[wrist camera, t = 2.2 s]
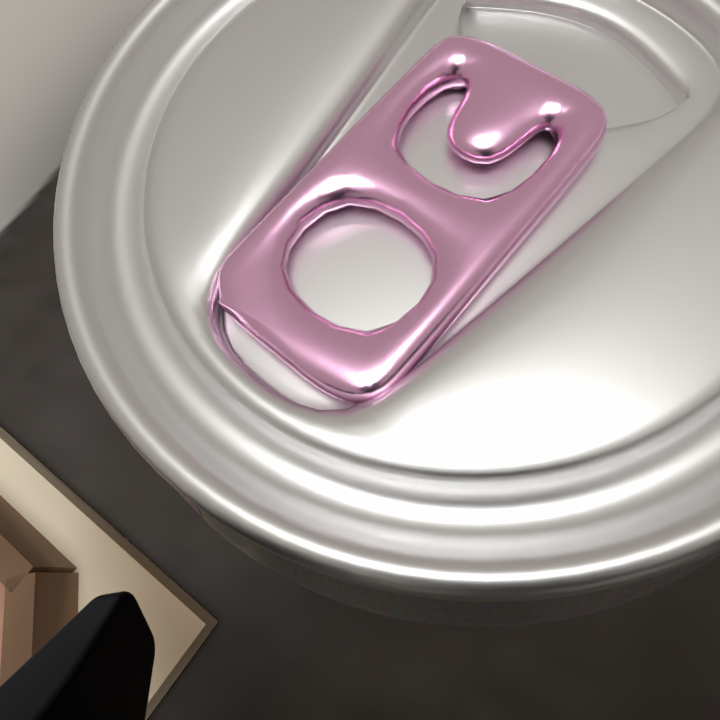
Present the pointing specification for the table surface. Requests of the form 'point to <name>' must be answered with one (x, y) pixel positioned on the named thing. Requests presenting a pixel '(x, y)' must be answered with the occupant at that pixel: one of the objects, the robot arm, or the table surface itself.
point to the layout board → (78, 572)
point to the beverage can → (413, 290)
